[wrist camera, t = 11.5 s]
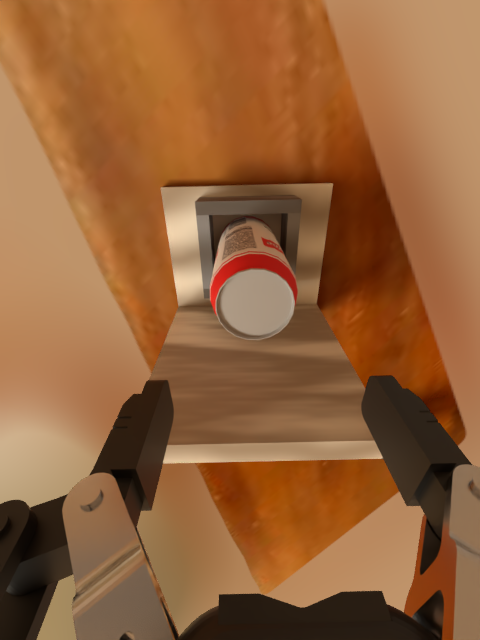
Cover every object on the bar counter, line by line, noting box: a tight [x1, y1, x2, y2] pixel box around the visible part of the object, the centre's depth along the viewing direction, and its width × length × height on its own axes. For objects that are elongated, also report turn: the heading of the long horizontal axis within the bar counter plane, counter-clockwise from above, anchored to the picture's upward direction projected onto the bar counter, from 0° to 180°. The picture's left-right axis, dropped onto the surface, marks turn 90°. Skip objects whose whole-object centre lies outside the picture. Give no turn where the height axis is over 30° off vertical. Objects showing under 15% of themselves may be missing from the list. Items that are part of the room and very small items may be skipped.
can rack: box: [149, 183, 383, 463], centre depth 24 cm, size 16×18×21 cm
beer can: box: [210, 216, 298, 340], centre depth 24 cm, size 6×6×16 cm
